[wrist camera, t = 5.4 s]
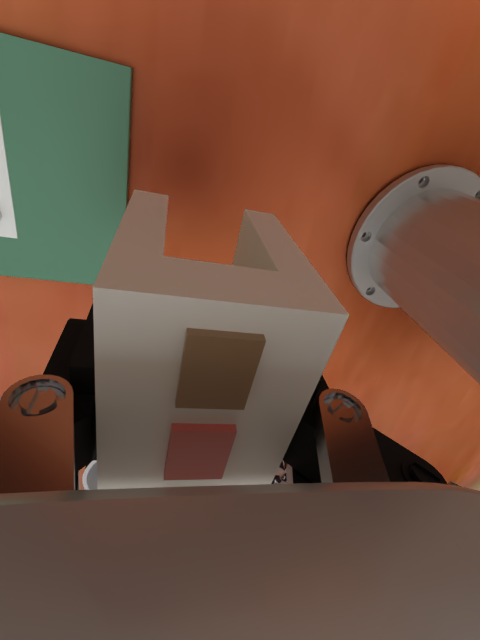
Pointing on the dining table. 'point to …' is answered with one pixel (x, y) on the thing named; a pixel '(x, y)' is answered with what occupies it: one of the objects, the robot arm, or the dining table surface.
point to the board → (61, 160)
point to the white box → (204, 353)
